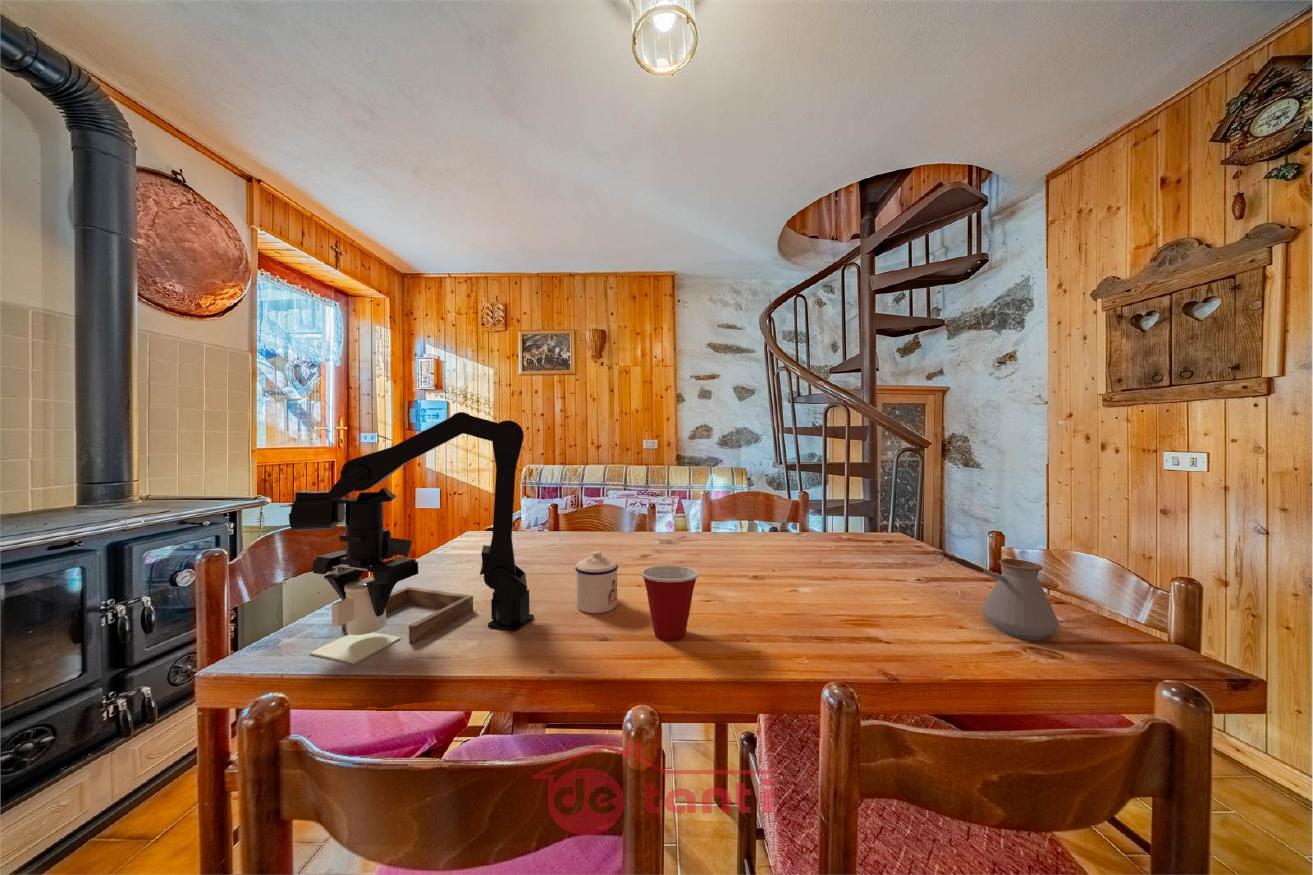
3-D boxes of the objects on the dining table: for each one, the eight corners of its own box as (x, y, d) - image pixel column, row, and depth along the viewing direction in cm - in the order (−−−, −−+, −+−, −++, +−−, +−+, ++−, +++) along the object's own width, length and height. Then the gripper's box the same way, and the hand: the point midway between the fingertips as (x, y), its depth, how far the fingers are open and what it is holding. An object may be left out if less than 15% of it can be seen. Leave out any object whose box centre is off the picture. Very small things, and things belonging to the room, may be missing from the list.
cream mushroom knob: (369, 617, 85) (368, 575, 85) (395, 622, 83) (395, 579, 83) (321, 638, 77) (320, 592, 77) (349, 644, 75) (348, 596, 75)
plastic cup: (697, 621, 90) (697, 561, 89) (700, 648, 79) (701, 580, 79) (642, 620, 90) (642, 560, 90) (638, 647, 79) (638, 579, 79)
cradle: (473, 609, 95) (473, 595, 95) (414, 643, 81) (414, 626, 80) (408, 600, 100) (407, 586, 100) (341, 629, 86) (341, 614, 86)
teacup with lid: (617, 614, 93) (617, 558, 93) (573, 615, 92) (573, 558, 92) (618, 592, 105) (618, 542, 105) (579, 593, 104) (578, 543, 104)
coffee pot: (1024, 618, 92) (1026, 544, 91) (1076, 645, 80) (1079, 561, 80) (918, 617, 92) (919, 543, 91) (955, 644, 80) (956, 561, 80)
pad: (400, 638, 82) (400, 637, 82) (353, 663, 74) (353, 662, 74) (359, 631, 85) (358, 629, 85) (309, 654, 77) (309, 652, 77)
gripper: (441, 521, 86) (442, 603, 86) (367, 515, 91) (368, 591, 92) (390, 535, 75) (391, 628, 75) (309, 526, 81) (311, 613, 81)
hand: (366, 613), depth 81 cm, fingers closed on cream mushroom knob, 6 cm apart
